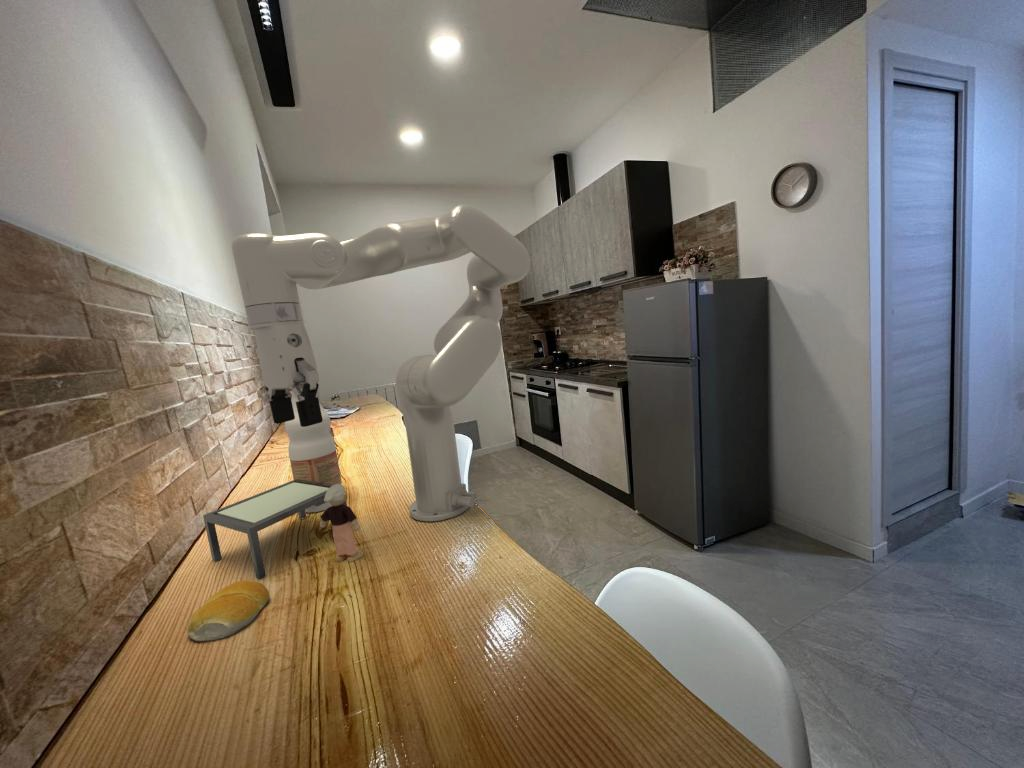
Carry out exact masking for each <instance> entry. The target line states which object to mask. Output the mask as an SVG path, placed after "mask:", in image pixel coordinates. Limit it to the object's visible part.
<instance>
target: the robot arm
mask: <svg viewBox="0 0 1024 768" xmlns="http://www.w3.org/2000/svg"><path fill="white" fill-rule="evenodd" d="M231 251H232V256H233V260H234V265H235V269H236V274H237V277H238V278H237V279H238V283H239V287H240V291H241V295H242V296H241V297H242V300H243V301H242V302H243V306H244V311H245V315H246V319H247V324H248V328H249V329H248V330H250V331H254V337H255V344H256V349H257V358H258V362H259V367H260V372H261V377H262V381H263V383H264V387H265V390H266V392H267V399H268V402H269V406H270V410H271V414H272V415H271V416H272V419H273V423H274V424H278V425H279V424H282V423H285V422H286V421H290V420H294V419H295V415H294V411H293V406H292V401H291V399H292V396H289V392H290V391H289V389H292V390H293V392H294V394H295V395H296V397H297V399H298V400H299V401H298V402H296V406H297V411H298V415H299V420H300V425H301V426H302V427H306V426H310V425H314V424H317V423H321V422H322V421H323V419H322V414H321V409H320V404H321V403H320V401H319V400H320V399H319V398H320V393H319V391H318V390H319V382H320V376H319V371H318V366H317V363H316V359H315V358H316V357H315V355H314V354H315V353H314V350H313V347H312V343H311V340H310V338H309V335H308V332H307V329H306V327H305V321H304V317H303V316H304V315H303V313H302V306H301V301H300V296H299V292H298V286H299V287H301V288H304V289H308V290H321V289H322V290H323V289H326V288H331V287H335V286H340V285H346V284H350V283H354V282H359V281H362V280H365V279H370V278H375V277H380V276H387V275H391V274H394V273H398V272H402V271H406V270H410V269H414V268H415V269H416V268H420V267H423V266H428V265H433V264H438V263H439V264H440V263H444V262H449V261H452V260H456V259H458V258H461V257H462V256H466V255H467V254H470V253H472V254H473V255H472V257H471V258H470V260H469V262H468V264H467V266H466V277H467V278H466V279H467V282H468V283H467V284H468V290H469V291H468V295H467V298H466V300H465V301H464V302H463V304H462V305H461V306H460V307H459V308H458V309H457V310H456V312H455V313H454V314H452V316H451V317H450V318H449V319H448V320H447V321H446V322H445V323H444V324H443V325H442V326H441V327H440V328H439V329H438V330H437V331H438V332H437V333H436V335H435V336H434V340H433V349H434V351H435V354H436V355H434V354H427V355H426V354H425V355H417V356H412V357H410V358H408V359H406V360H405V361H404V362H403V363H401V365H400V366H399V368H398V370H397V372H396V376H395V388H396V393H397V398H398V400H399V404H400V408H401V411H402V414H403V415H402V417H403V420H404V425H405V432H406V438H407V439H406V440H407V446H408V454H409V460H410V467H411V474H412V476H411V477H412V481H413V482H412V483H413V488H414V494H415V500H414V501H413V502H412V503H411V504H410V505H409V509H408V511H409V516H410V517H411V518H412V519H414V520H416V521H420V522H438V521H439V522H440V521H443V520H448V519H451V518H454V517H457V516H460V515H461V514H462V513H464V512H465V511H467V510H468V509H469V508H474V507H475V505H476V499H477V497H478V495H477V493H476V492H473V491H467V485H466V483H464V482H463V483H462V477H461V471H460V470H461V469H460V465H459V463H460V462H459V453H458V447H457V439H456V437H457V436H456V430H455V429H456V428H455V423H454V417H453V414H452V409H451V407H452V406H455V405H457V404H458V403H461V402H462V401H463V400H464V399H465V398H466V397H467V396H468V395H469V394H470V393H471V392H472V390H473V389H474V388H475V386H477V384H478V383H479V381H480V380H481V379H482V378H483V376H484V375H485V374H486V372H487V371H488V370H489V369H490V368H491V367H492V365H493V364H494V362H495V361H496V360H497V358H498V356H499V354H500V351H501V349H502V343H503V341H502V340H503V338H502V336H503V335H502V332H501V329H500V327H499V325H498V324H499V322H500V320H501V319H502V316H503V312H504V309H503V308H504V307H503V300H502V293H501V289H500V288H501V287H505V286H509V285H512V284H515V283H517V282H520V281H522V280H523V279H525V277H526V276H527V275H528V273H529V271H530V269H531V257H530V254H529V252H528V250H527V248H526V246H525V245H524V244H523V243H522V242H521V241H520V240H519V239H518V238H517V237H515V236H514V234H512V233H511V232H509V231H508V230H507V229H505V228H504V227H503V226H501V225H500V224H499V223H498V222H497V221H495V220H494V219H493V218H491V217H490V216H489V215H487V214H486V213H484V212H483V211H482V210H480V209H478V208H476V207H473V206H471V205H468V204H459V205H458V204H457V205H456V206H454V207H453V208H451V209H450V210H448V211H447V212H445V213H444V214H442V215H438V216H434V217H427V218H426V217H425V218H419V219H411V220H410V219H409V220H404V221H395V222H389V223H386V224H384V225H381V226H378V227H376V228H374V229H372V230H370V231H368V232H366V233H364V234H361V235H359V236H357V237H354V238H351V239H347V240H344V241H339V240H338V239H337V238H335V237H333V236H332V235H330V234H326V233H323V232H322V233H321V232H306V233H297V234H286V235H275V234H270V233H262V232H261V233H260V232H259V233H258V232H257V233H253V232H252V233H244V234H241V235H238V236H236V237H235V238H234V239H233V240H232V242H231ZM297 285H298V286H297ZM301 388H303V389H302V391H301V390H300V389H301ZM319 403H320V404H319Z"/></svg>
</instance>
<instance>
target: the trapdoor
mask: <svg viewBox="0 0 1024 768" xmlns="http://www.w3.org/2000/svg"><path fill="white" fill-rule="evenodd" d="M328 489H329V488H326V487H320V486H314V485H308V484H301V483H295V482H294V483H291V484H289V485H286V486H284V487H281V488H278V489H276V490H273V491H271V492H268V493H266V494H263V495H261V496H258V497H256V498H253V499H251V500H248V501H246V502H243V503H240V504H238V505H235V506H233V507H230V508H228V509H225V510H223V511H220V512H218V513H217V515H219V516H223V517H226V518H230V519H234V520H237V521H241V522H244V523H248V524H252V525H253V524H256V523H258V522H260V521H262V520H264V519H267V518H269V517H271V516H273V515H276V514H278V513H280V512H282V511H285V510H287V509H289V508H291V507H293V506H296V505H298V504H300V503H302V502H305V501H307V500H309V499H311V498H313V497H316V496H318V495H320V494H322V493H325V492H327V491H328ZM324 503H326V502H325V501H322V502H320V503H318V504H315V505H314V506H320V505H322V504H324Z"/></svg>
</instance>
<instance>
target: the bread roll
mask: <svg viewBox="0 0 1024 768" xmlns="http://www.w3.org/2000/svg"><path fill="white" fill-rule="evenodd" d="M269 598H270V593H269V590H268V588H267V587H266V586H265V584H263V583H261V582H259V581H256V580H251V579H247V580H239V581H236V582H235V581H234V582H233V583H230V584H228V585H226V586H224V587H223V588H221V589H220V590H218V591H217V592H215V593H213V594H212V595H211V596H210V597H208V598H207V600H206V601H204V604H202V606H201V607H200V608H198V609H197V610H196V611H195V612H194V613H193V614H192V615H191V617H190V618H189V621H188V624H187V627H186V629H187V630H186V631H187V636H188V637H189V638H190V639H192V640H193V641H195V642H206V641H207V642H208V641H210V642H211V641H215V640H219V639H223V638H227V637H229V636H231V635H233V634H235V633H236V632H238V631H240V630H241V629H243V628H245V627H246V626H247V625H249V624H250V623H251V622H253V620H255V618H256V617H257V615H259V612H260V611H261V610H262V609H263V608H264V607H265V605H266V604H267V602H268V601H269Z"/></svg>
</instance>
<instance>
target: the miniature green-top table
mask: <svg viewBox="0 0 1024 768" xmlns="http://www.w3.org/2000/svg"><path fill="white" fill-rule="evenodd" d="M294 482H295V483H301V484H308V485H314V486H320V487H326V488H330V487H331V486H333V484H327V483H320V482H313V481H307V480H300V479H295V480H294V479H293V480H291V481H288V482H286V483H282V484H280V485H277V486H276V487H272V488H270V489H267V490H265V491H262V492H259V493H257V494H255V495H252V496H250V497H246V498H244V499H242V500H240V501H237V502H233V503H232V504H228V505H226V506H223V507H220V508H219V509H215V510H214V511H211V512H209V513H206V514H203V515H202V517H203V522H204V527H205V532H206V536H207V541H208V545H209V550H210V554H211V559H212V562H215V563H217V562H218V561H220V560H221V561H222V559H223V558H222V553H221V548H220V547H221V546H220V543H219V537H218V534H217V529H216V526H220V527H223V528H226V529H227V528H228V529H230V530H234V531H237V532H239V533H243V534H247V535H246V536H247V539H248V544H249V549H250V550H249V551H250V554H251V559H252V565H253V570H254V573H255V579H257V580H262V579H263V578H265V577H266V576H267V573H266V568H265V563H264V557H263V554H262V553H263V552H262V548H261V543H260V538H259V533H258V532H261V531H262V530H264V529H267V528H269V527H270V526H273V525H274V524H277V523H279V522H281V521H284V520H286V519H287V518H289V517H292V516H294V515H296V514H298V515H297V516H298V519H299V518H301V519H300V520H303V519H302V518H304V519H306V518H307V513H306V512H305V509H307V508H309V507H311V506H313V505H315V504H318V503H320V502H322V501H324V498H325V494H326V492H325V493H322V494H320V495H318V496H316V497H313V498H311V499H309V500H307V501H305V502H302V503H300V504H298V505H296V506H293V507H291V508H289V509H287V510H285V511H282V512H280V513H278V514H276V515H273V516H271V517H269V518H267V519H264V520H262V521H260V522H258V523H256V524H253V525H252V524H248V523H244V522H241V521H237V520H234V519H230V518H226V517H223V516H219V515H217V513H218V512H220V511H223V510H225V509H228V508H230V507H233V506H235V505H238V504H240V503H243V502H246V501H248V500H251V499H253V498H256V497H258V496H261V495H263V494H266V493H268V492H271V491H273V490H276V489H278V488H281V487H284V486H286V485H289V484H291V483H294ZM343 505H346V506H348V505H347V499H345V502H344V503H343ZM305 517H306V518H305Z"/></svg>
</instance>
